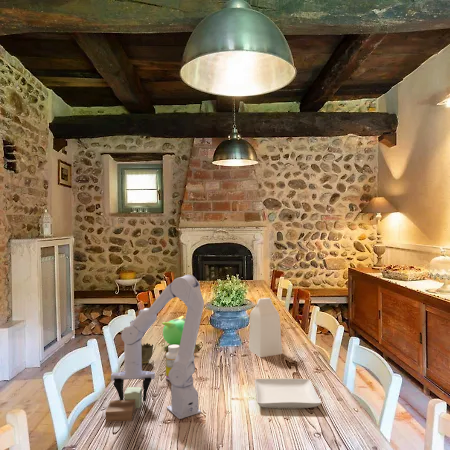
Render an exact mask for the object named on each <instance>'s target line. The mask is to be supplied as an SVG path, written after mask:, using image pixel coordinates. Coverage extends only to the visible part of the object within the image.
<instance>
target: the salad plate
mask: <svg viewBox="0 0 450 450" xmlns="http://www.w3.org/2000/svg"><path fill="white" fill-rule="evenodd" d="M254 385H255V393H256V395H255V396H256V404H257V405H258V406H259V407H262V408H265V409H266V408H270V409H308V408H317V407H319V406H320V405H321V404H322V400H321V399H320V397H319V395H318V393H317V390H316V389H315V387H314V384H313V382H312V381H311V379H309V378H255V379H254Z"/></svg>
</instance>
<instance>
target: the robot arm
mask: <svg viewBox="0 0 450 450" xmlns="http://www.w3.org/2000/svg"><path fill="white" fill-rule="evenodd" d="M175 298H178V299H179V300H180V301H182V302H183V303H184V304H185V306H186V307H187V309H186V313H185V317H184V318H185V323H184V327H183V332H182V337H181V342H180V346H179V351H178V355H177V357H176V359H175V361H174V365H173V367H172V369H171V370H170V371H169V380H168V381H169V382H170V384H171V387H170V389H171V391H170V392H171V394H170V395H171V397H170V398H171V400H170V401H171V402H170V403H171V405H167V406H166V409H167V410H168V411H169V412H170V413H172V414H173V415H174V416H175V417H176V418H178V419H179V420H181V419H185V418H187V417H191V416H194V415H197V414H200V413H201V412H202V411H201V409H199V392H198V390H197V389H196V388H195V385H194V378H193V374H194V373H195V371H196V365H195V364H196V363H195V355H194V353H195V350H196V349H195V348H196V345H197V344H196V343H197V340H198V339H197V338H198V335H199V329H200V327H201V326H200V325H201V320H202V315H203V310H204V306H205V301H204V298H203V294H202V291H201V283H200V282H199V281H198V280H197V278H196V277H195V276H194V275H192V274H185V275H183V276H180V277H176V278H175V279H173V280H172V282H171V283H169V284H168V285H167V286H166V287H165V289H163V290H162V292H161V293H160V294H159V295H158V297H157V298H156V299H155V300H154V302H153V303H152V304H151V305H150V307H145V308H143V309H140V310H139V311H138V314H137V316H136V317H135V318H134V319H133V320H130V322H129V323H130V324H129V326H128V325H127V326H126V327H124V328H123V330H122V331H121V341H122V342H123V343H124V347H123V348H124V349H123V350H124V355H123V356H124V359H123V360H124V371H119V372H112V373H111V375H110V381H111V382H113V387H114V388H115V390H116V392H117V395H118V397H119V398H118V399H119V400H124V393H125V392H124V381H125V380H143V381H142V402H146V400H147V395H148V391H149V388H150V385H151V383H152V380H155V379H156V371H147V370H142V369H143V367H142V366H143V364H142V345H143V344H142V339H143V337H144V336H145V333H147V331H148V330H149V329H150V328H151V327H152V326H153V324H155V322H156V321H157V319H158V316H157V315H158V314H159V312H160V311H161V310H162V309H163V308H164V307H165V306H166V305H168V304H169V302H170V301H171V300H172V299H175Z"/></svg>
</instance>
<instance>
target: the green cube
mask: <svg viewBox="0 0 450 450" xmlns="http://www.w3.org/2000/svg"><path fill="white" fill-rule="evenodd" d="M123 393H124V399H123V400H135V409H141V404H142V403H143V386H131V387H128V386H127V388H125V391H124V392H123Z"/></svg>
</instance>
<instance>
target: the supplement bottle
mask: <svg viewBox="0 0 450 450" xmlns="http://www.w3.org/2000/svg"><path fill="white" fill-rule="evenodd" d="M167 350H168V352H166V354H165V378H166V380H168V381H170V380H169V371H170V370H171V369H172V367H173V365H174V361H175V359H176V357H177V355H178V351H179V345H170V344H169V345H168V347H167Z"/></svg>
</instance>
